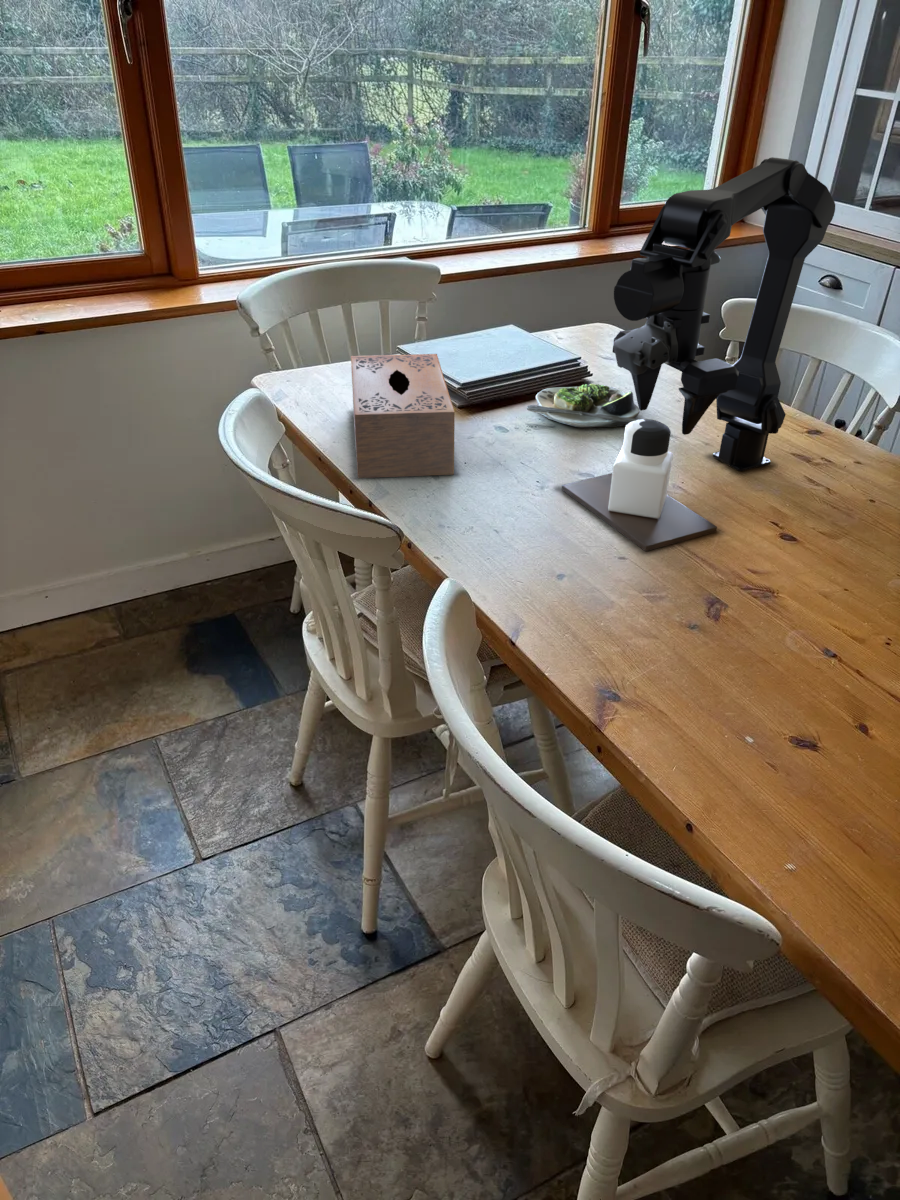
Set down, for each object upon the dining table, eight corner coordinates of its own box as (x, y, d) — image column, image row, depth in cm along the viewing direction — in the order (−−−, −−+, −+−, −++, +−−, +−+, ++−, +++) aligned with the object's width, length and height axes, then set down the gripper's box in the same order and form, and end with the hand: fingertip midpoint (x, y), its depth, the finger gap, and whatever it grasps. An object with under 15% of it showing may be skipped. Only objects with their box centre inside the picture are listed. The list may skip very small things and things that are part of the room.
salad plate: (537, 436, 149) (539, 409, 147) (513, 397, 164) (515, 372, 161) (649, 430, 152) (653, 404, 149) (616, 392, 167) (619, 367, 164)
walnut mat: (627, 474, 138) (628, 469, 137) (716, 531, 123) (717, 526, 123) (561, 489, 133) (561, 484, 133) (645, 551, 118) (646, 546, 118)
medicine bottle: (666, 497, 130) (679, 418, 123) (659, 520, 124) (672, 438, 117) (616, 489, 132) (626, 411, 125) (607, 511, 126) (617, 430, 119)
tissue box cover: (353, 412, 157) (350, 355, 151) (436, 410, 158) (436, 353, 153) (357, 478, 135) (354, 414, 130) (453, 474, 137) (454, 411, 131)
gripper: (584, 293, 117) (575, 408, 126) (677, 334, 104) (659, 459, 112) (654, 283, 122) (639, 394, 130) (752, 321, 108) (728, 443, 117)
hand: (663, 421), depth 122 cm, fingers open, 9 cm apart
